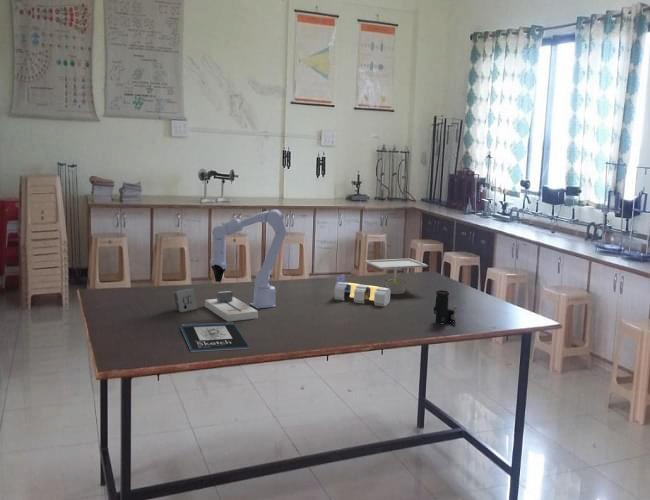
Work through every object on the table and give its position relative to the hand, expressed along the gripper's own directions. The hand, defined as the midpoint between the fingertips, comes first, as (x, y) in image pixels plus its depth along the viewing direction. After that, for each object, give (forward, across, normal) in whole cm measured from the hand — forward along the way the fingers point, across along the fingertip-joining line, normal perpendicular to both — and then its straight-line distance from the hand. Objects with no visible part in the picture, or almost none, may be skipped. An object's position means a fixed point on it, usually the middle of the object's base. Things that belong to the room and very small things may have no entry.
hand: (218, 281), depth 304 cm
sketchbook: (+11, +44, -20) cm, 50 cm away
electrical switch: (+11, +4, -17) cm, 20 cm away
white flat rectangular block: (+10, +14, 0) cm, 18 cm away
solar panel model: (+10, +9, +93) cm, 94 cm away
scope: (+10, +62, +79) cm, 101 cm away
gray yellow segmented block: (+11, +19, +66) cm, 70 cm away
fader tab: (+7, +8, 0) cm, 10 cm away
